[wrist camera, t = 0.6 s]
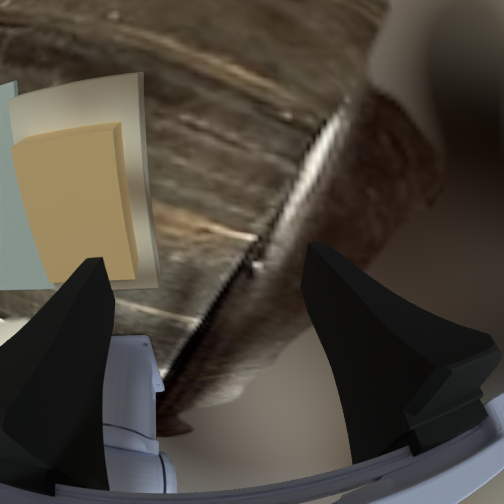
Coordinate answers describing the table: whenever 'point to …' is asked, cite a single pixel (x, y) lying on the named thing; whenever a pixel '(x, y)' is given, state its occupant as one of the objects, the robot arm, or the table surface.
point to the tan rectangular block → (78, 199)
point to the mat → (15, 216)
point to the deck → (134, 143)
